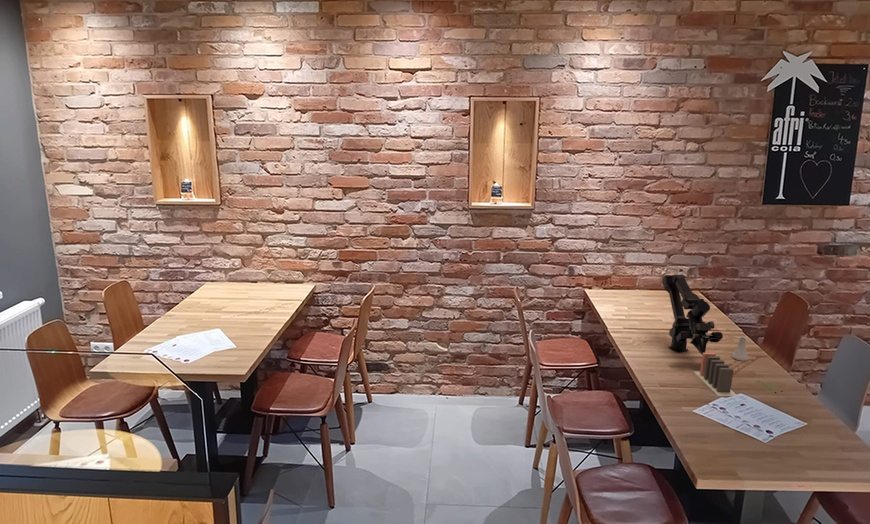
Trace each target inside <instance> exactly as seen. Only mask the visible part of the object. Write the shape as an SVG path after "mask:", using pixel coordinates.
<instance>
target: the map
mask: <svg viewBox="0 0 870 524" xmlns="http://www.w3.org/2000/svg"><path fill="white" fill-rule="evenodd" d="M755 384H761V385H762V386H764V388H766V389H767V390H768V391H769V392H771V393H772V392H773V391H776V390H779V389H780V388H778V387H776V386H774V385H772V384H770V383H764V382H762V381H760V380H756V381H755ZM776 388H777V389H776Z"/></svg>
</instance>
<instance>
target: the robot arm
mask: <svg viewBox="0 0 870 524" xmlns="http://www.w3.org/2000/svg"><path fill="white" fill-rule="evenodd" d="M661 283H662V285H663V288H664V290H665V291H666V292H667V293H668V296H669V299H670V300H669V301H670V304H671V308H672V309H671V310H672V313H673V318H674V321H673V323H672V327H671V329H670V330H669V331H668V333H669V334H668V335H669V337H670V338H671V344H670V345H671V346H668V348H669V349H670V350H672V351H675V352H676V353H681V352H688V351H689V349H688V348H687V345H688V344H687V343H688V340H689V339H690V342H689V344H691V345H693V346H694V348H696V349H697V351H698V352H699V353H700V354H701V355H702V354H703V353H706V350H707V349H706V348H707V345H708V343H709V342H710V343H719V342H720V341H721V340H722V339H723V338H724V334H723V333H722V332H721V331H712V332H711V333H710V334H708V333H709V331H711V330H713V329H715V327H716V325H715V322H714V321H712V320H711V321H707V322H705V321H704V320H703V317H705V316H706V315H707V314H708V312H709V311H710V310H711V305H710V304H709V303H708V302H707V301H705V299H704V298H700V297H699V296H698V294H696V293H694V292H693V291H692V290H691V288H690V285H689V284H688V282H687V280H686V276H685V275H684V274H678V273H677V274H671V275H668V274H666V275H664V276H663V277H662V279H661ZM684 310H689V311H688V312H687V313H686V316H685V311H684Z"/></svg>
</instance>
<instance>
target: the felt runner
mask: <svg viewBox="0 0 870 524" xmlns="http://www.w3.org/2000/svg"><path fill="white" fill-rule="evenodd" d="M693 373H694V374H695V375H696V376H697V377H698V378H699V379H701V381H702V382H703V383H705V385H707V387H708V388H709V389H711V390H712V392H713V393H714V394H715V395H716V396H718V397H738V395H737V394H736V393H735V392H734V391H733V390H732V389H731V391H730V392H717V391H716V389H717V388H713V387H712V384H709V383H708V380H705V379H704V376H701V375H700V370H699V371H698V370H697V371H695V370H694V371H693Z"/></svg>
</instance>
